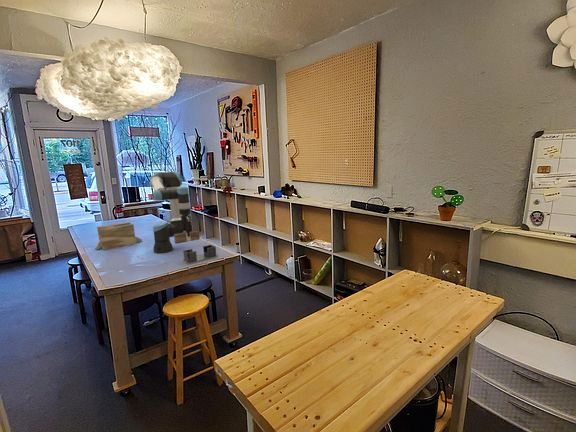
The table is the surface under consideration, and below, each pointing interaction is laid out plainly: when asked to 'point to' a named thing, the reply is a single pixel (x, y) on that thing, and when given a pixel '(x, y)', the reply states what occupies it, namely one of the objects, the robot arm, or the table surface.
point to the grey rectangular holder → (193, 258)
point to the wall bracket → (101, 243)
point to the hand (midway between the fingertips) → (187, 239)
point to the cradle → (116, 235)
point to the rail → (182, 237)
